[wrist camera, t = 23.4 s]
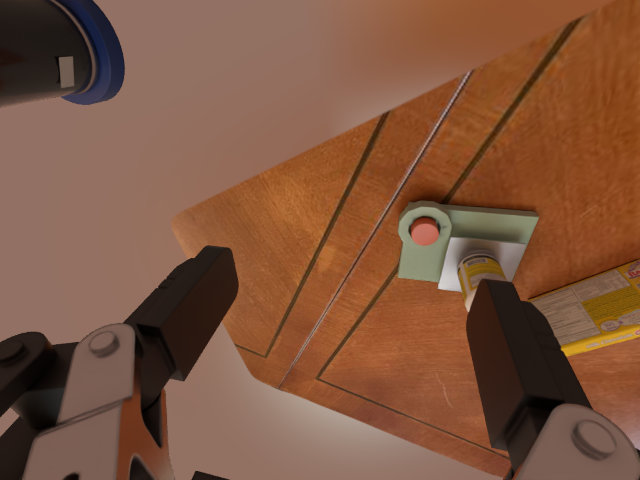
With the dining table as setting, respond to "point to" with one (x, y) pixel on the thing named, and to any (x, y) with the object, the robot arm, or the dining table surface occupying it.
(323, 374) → the dining table surface
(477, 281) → the supplement bottle
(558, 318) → the candy box
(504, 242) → the scale pan
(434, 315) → the dining table surface
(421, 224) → the power button
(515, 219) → the scale
